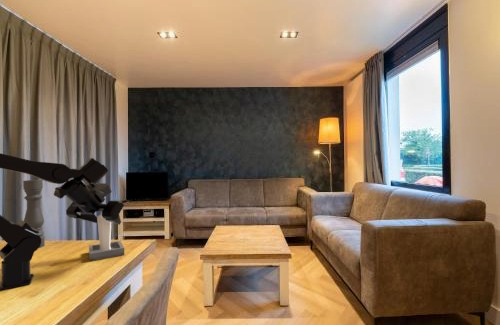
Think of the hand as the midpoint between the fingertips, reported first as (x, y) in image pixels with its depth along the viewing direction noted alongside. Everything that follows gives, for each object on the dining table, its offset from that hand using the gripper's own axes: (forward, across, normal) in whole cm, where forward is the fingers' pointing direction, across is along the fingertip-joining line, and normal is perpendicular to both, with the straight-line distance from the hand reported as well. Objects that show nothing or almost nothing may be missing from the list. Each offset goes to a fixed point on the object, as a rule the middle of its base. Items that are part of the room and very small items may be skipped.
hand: (108, 222), depth 95 cm
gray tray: (+6, 0, +8) cm, 10 cm away
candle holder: (+6, +33, +9) cm, 34 cm away
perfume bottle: (+6, 0, +8) cm, 10 cm away
